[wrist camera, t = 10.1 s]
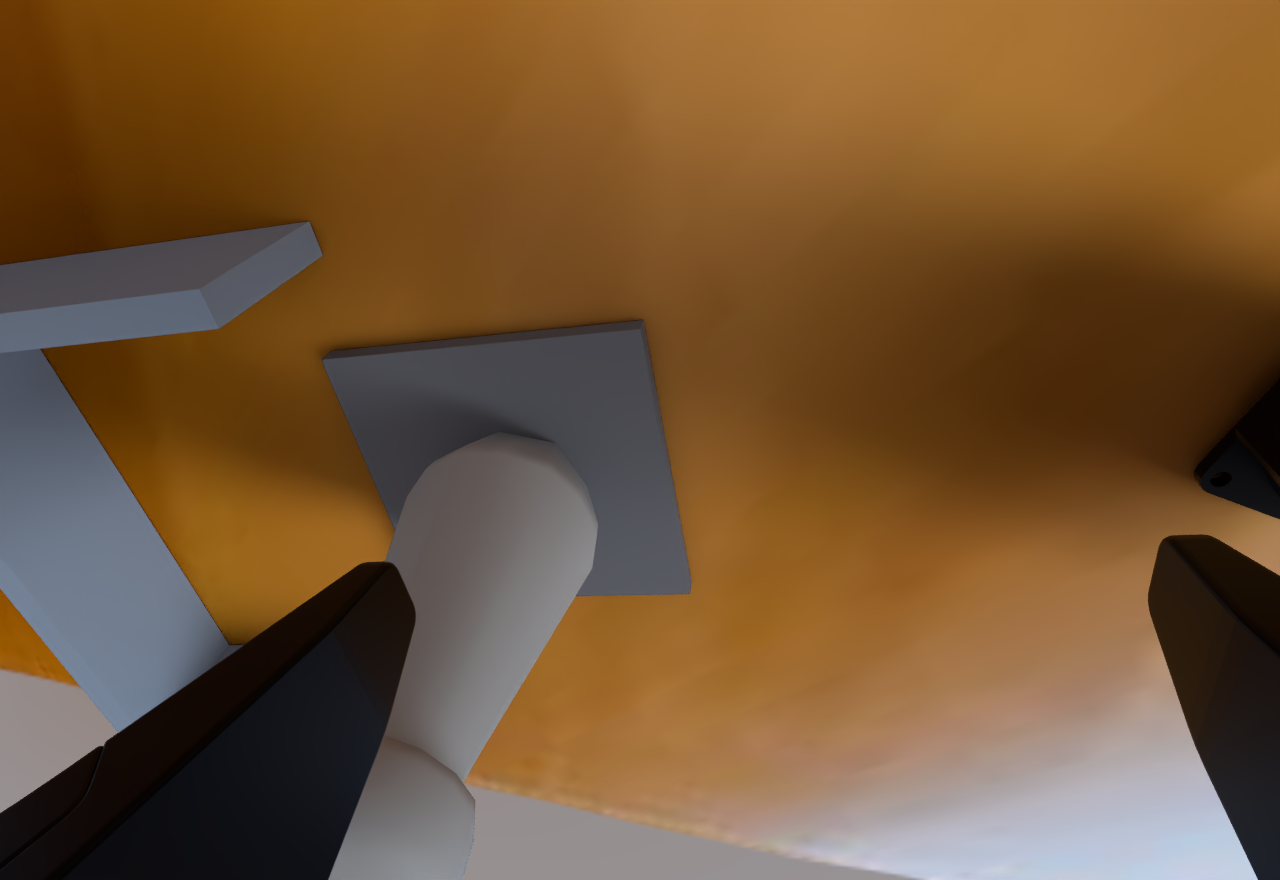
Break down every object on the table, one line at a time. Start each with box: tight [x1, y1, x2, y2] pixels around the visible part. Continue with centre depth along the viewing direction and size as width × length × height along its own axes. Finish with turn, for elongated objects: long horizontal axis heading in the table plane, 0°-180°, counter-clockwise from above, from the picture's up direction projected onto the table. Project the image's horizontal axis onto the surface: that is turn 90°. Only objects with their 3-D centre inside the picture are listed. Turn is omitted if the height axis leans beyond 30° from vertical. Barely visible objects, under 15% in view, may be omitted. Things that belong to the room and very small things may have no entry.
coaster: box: [321, 320, 691, 596], centre depth 25 cm, size 10×10×1 cm
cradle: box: [0, 221, 323, 733], centre depth 26 cm, size 12×18×5 cm
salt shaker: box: [329, 432, 598, 880], centre depth 20 cm, size 6×6×13 cm
